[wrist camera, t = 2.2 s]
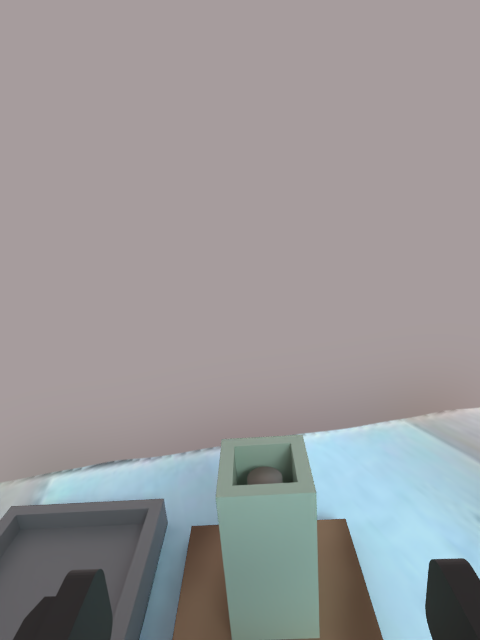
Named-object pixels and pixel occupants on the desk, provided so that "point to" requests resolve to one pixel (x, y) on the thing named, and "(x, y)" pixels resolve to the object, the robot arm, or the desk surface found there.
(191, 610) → the board
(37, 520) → the grey tray
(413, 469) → the desk surface
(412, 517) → the desk surface
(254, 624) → the sleeve
